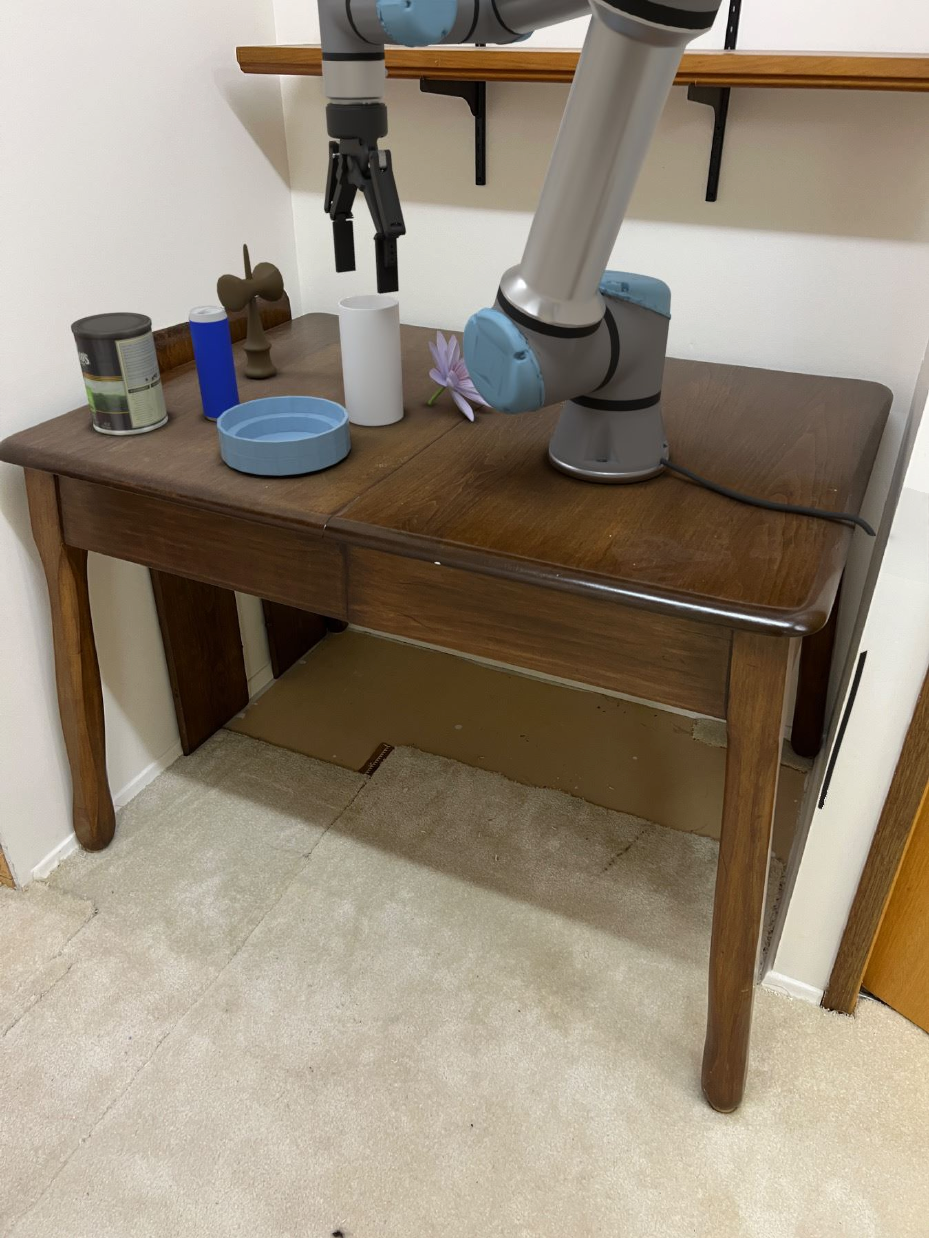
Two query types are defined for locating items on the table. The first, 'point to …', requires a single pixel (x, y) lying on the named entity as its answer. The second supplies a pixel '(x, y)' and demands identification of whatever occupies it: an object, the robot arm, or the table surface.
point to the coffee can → (120, 372)
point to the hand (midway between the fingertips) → (366, 281)
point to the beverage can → (214, 360)
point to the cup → (371, 359)
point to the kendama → (253, 309)
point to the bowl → (284, 435)
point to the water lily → (453, 374)
